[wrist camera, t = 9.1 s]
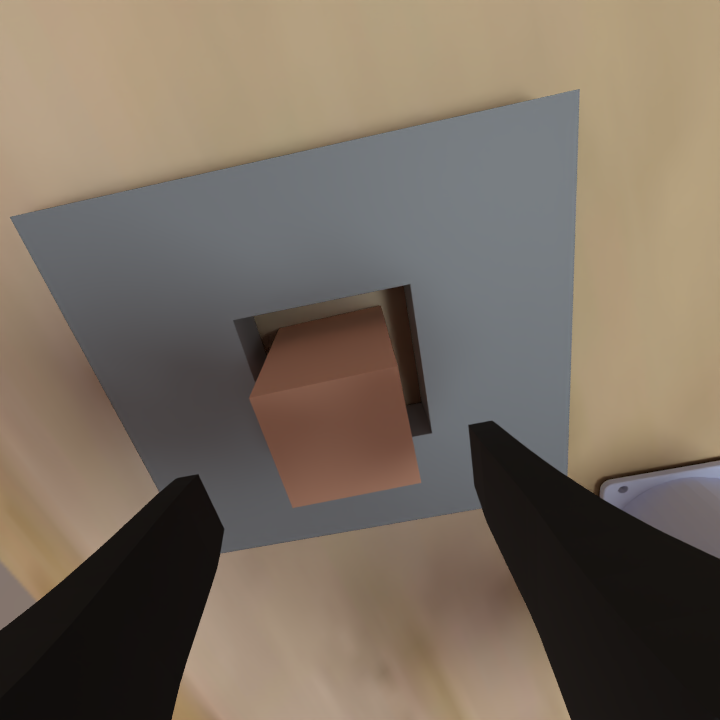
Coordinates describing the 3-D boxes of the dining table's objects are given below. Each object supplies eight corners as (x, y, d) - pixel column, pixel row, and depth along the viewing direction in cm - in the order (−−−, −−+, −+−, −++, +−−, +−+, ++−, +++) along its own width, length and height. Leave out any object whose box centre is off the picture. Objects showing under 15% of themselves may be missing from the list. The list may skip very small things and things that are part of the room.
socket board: (541, 103, 14) (579, 89, 12) (542, 458, 21) (566, 493, 18) (61, 211, 15) (9, 217, 13) (211, 517, 21) (195, 557, 19)
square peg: (380, 305, 17) (397, 365, 11) (398, 394, 19) (421, 482, 13) (279, 328, 17) (249, 398, 12) (307, 413, 19) (292, 508, 14)
